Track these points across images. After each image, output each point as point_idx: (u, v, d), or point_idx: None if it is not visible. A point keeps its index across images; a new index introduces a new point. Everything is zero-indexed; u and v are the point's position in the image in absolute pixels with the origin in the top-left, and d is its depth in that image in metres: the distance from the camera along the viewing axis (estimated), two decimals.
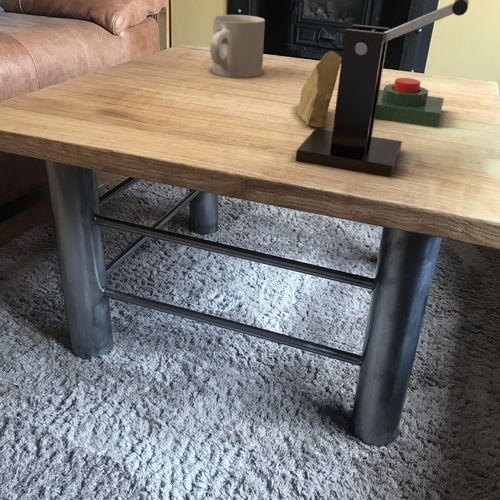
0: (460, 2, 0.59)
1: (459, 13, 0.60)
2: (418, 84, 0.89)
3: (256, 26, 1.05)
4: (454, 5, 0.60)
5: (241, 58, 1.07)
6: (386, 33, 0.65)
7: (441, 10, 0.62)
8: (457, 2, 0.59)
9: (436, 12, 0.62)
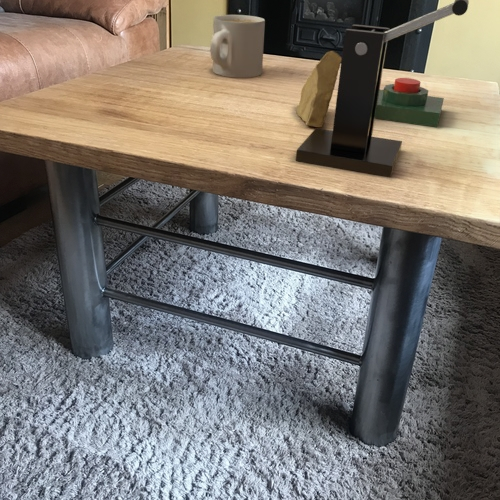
0: (460, 2, 0.59)
1: (459, 13, 0.60)
2: (418, 84, 0.89)
3: (256, 26, 1.05)
4: (454, 5, 0.60)
5: (241, 58, 1.07)
6: (386, 33, 0.65)
7: (441, 10, 0.62)
8: (457, 2, 0.59)
9: (436, 12, 0.62)
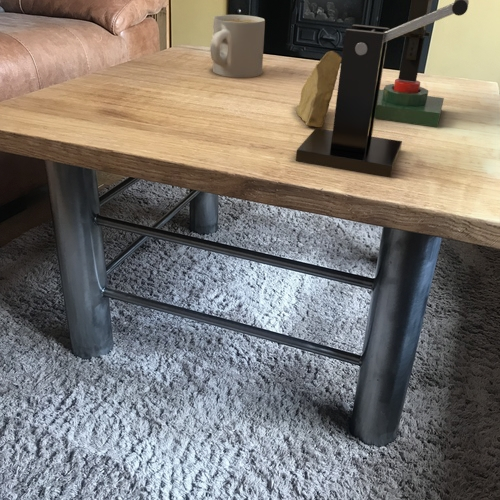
0: (460, 2, 0.59)
1: (459, 13, 0.60)
2: (418, 84, 0.89)
3: (256, 26, 1.05)
4: (454, 5, 0.60)
5: (241, 58, 1.07)
6: (386, 33, 0.65)
7: (441, 10, 0.62)
8: (457, 2, 0.59)
9: (436, 12, 0.62)
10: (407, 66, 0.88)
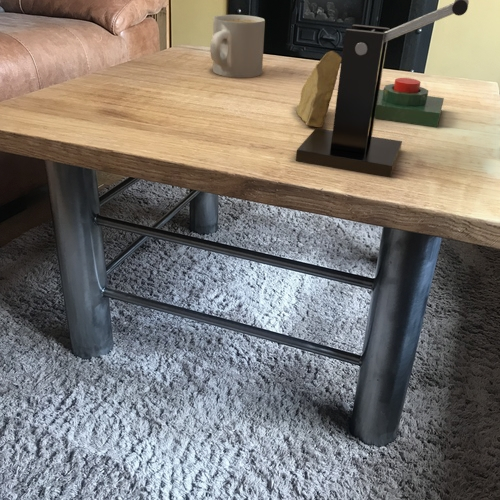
0: (460, 2, 0.59)
1: (459, 13, 0.60)
2: (418, 84, 0.89)
3: (256, 26, 1.05)
4: (454, 5, 0.60)
5: (241, 58, 1.07)
6: (386, 33, 0.65)
7: (441, 10, 0.62)
8: (457, 2, 0.59)
9: (436, 12, 0.62)
10: None
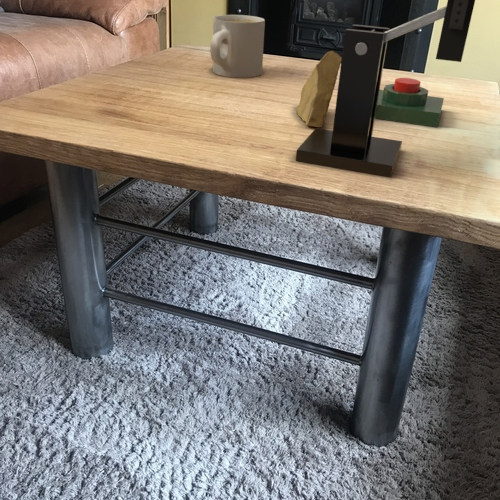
0: None
1: None
2: (418, 84, 0.89)
3: (256, 26, 1.05)
4: None
5: (241, 58, 1.07)
6: (386, 33, 0.65)
7: (441, 10, 0.62)
8: None
9: (436, 12, 0.62)
10: (449, 39, 0.61)
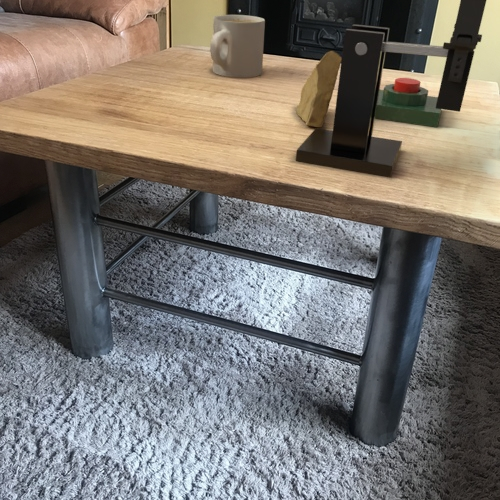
0: None
1: None
2: (418, 84, 0.89)
3: (256, 26, 1.05)
4: None
5: (241, 58, 1.07)
6: (388, 44, 0.65)
7: (444, 49, 0.64)
8: None
9: (439, 49, 0.64)
10: (448, 90, 0.63)
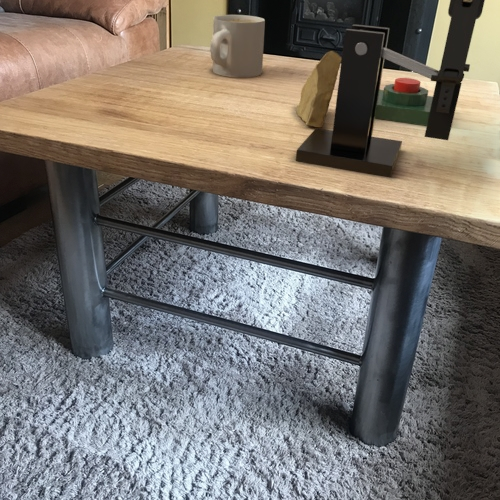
0: None
1: None
2: (418, 84, 0.89)
3: (256, 26, 1.05)
4: None
5: (241, 58, 1.07)
6: (387, 52, 0.66)
7: (437, 73, 0.65)
8: None
9: (432, 71, 0.65)
10: (437, 120, 0.65)
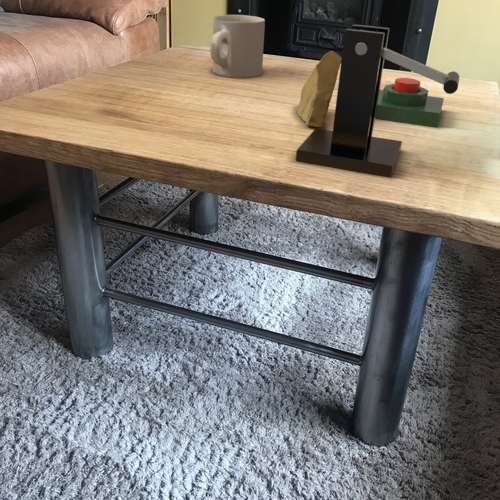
0: (454, 83, 0.63)
1: (446, 90, 0.64)
2: (418, 84, 0.89)
3: (256, 26, 1.05)
4: (448, 81, 0.63)
5: (241, 58, 1.07)
6: (387, 52, 0.66)
7: (437, 73, 0.65)
8: (452, 81, 0.63)
9: (432, 71, 0.65)
10: None
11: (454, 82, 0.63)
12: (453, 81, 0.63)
